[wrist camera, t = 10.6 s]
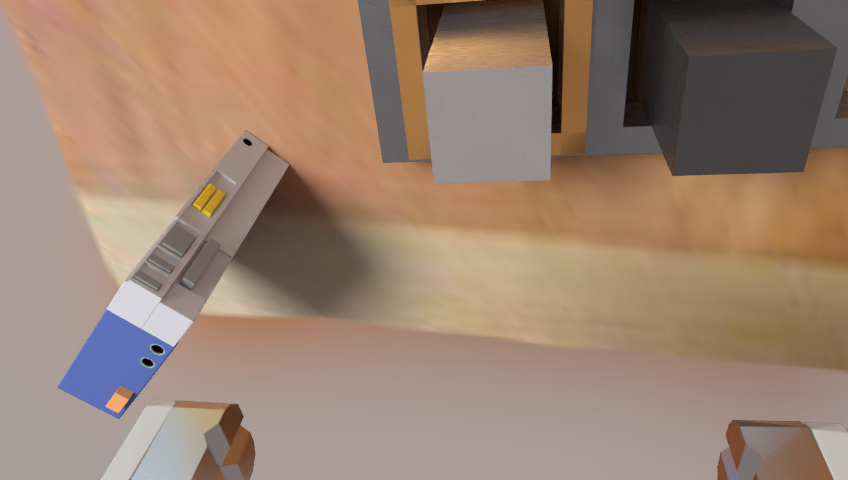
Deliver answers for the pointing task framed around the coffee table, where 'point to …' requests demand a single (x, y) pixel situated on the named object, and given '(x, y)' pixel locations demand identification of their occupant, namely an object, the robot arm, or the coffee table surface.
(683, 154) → the dark gray block
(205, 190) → the walkman
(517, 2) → the light grey rectangular block
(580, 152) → the grey block holder tray
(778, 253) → the coffee table surface
